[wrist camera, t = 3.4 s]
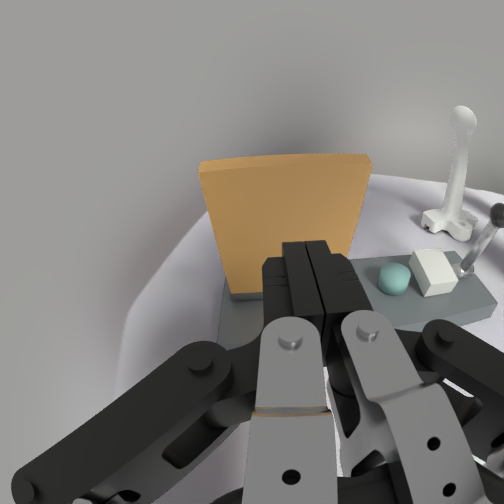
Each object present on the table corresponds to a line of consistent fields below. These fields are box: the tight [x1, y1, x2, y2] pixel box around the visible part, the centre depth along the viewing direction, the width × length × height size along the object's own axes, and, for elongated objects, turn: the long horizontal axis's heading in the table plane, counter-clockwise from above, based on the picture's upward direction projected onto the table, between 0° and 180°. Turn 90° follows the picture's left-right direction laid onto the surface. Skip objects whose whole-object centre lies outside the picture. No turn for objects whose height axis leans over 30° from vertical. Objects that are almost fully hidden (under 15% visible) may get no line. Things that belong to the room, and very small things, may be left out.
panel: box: [217, 251, 498, 350], centre depth 24 cm, size 28×10×2 cm, turn 90°
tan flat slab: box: [198, 154, 372, 301], centre depth 19 cm, size 9×2×14 cm, turn 90°
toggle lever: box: [451, 203, 504, 279], centre depth 19 cm, size 3×2×10 cm
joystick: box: [421, 106, 478, 242], centre depth 30 cm, size 11×8×20 cm
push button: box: [378, 262, 411, 296], centre depth 23 cm, size 3×3×2 cm
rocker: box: [408, 248, 459, 297], centre depth 22 cm, size 4×4×2 cm
